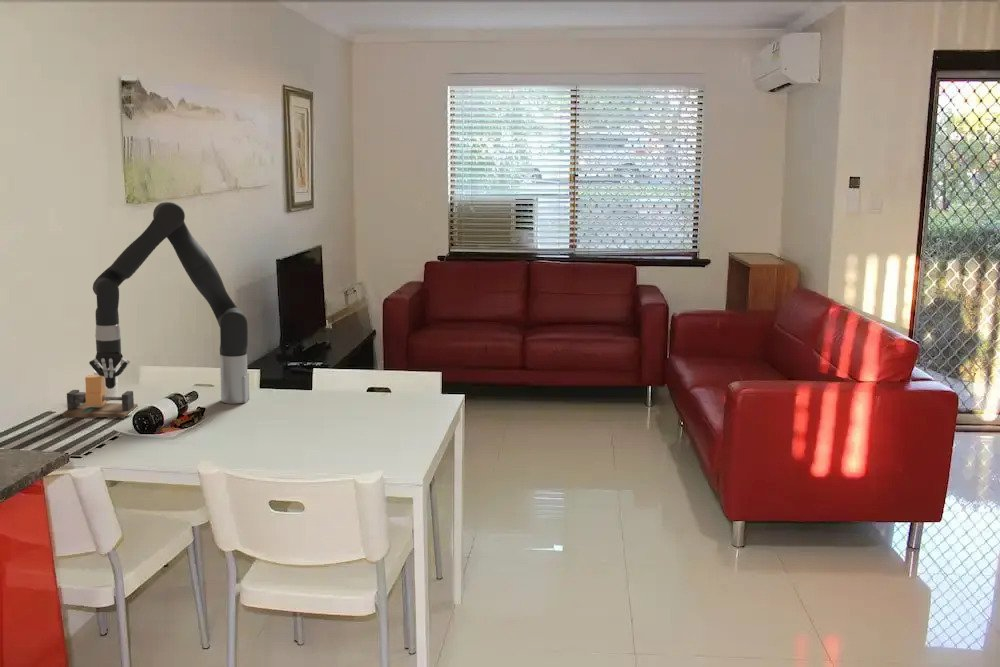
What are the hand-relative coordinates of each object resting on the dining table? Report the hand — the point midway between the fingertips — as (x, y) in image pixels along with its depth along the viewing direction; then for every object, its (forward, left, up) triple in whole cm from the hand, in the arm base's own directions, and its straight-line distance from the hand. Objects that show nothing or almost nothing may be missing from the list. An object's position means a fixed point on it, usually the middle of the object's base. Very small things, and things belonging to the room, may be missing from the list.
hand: (110, 387), depth 302 cm
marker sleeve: (+5, 0, -6) cm, 8 cm away
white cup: (+9, -18, -9) cm, 22 cm away
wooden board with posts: (+4, 0, -9) cm, 9 cm away
